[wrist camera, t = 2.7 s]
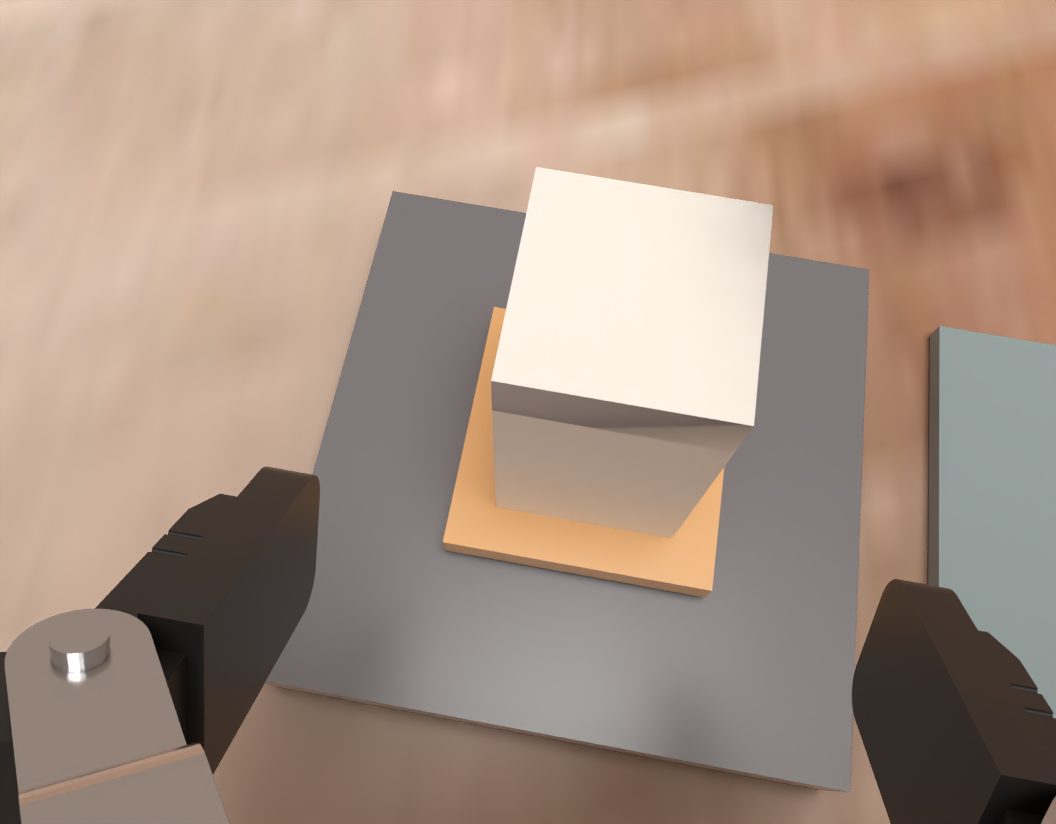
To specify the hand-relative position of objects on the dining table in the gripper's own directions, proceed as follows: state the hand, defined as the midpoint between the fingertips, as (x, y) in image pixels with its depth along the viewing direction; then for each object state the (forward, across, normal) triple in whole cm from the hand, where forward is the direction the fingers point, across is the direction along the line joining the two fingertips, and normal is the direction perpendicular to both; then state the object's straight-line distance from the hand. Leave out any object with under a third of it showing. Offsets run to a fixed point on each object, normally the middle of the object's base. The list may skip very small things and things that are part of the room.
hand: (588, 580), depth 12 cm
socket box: (+10, 0, +4) cm, 11 cm away
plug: (+10, 0, +4) cm, 11 cm away
